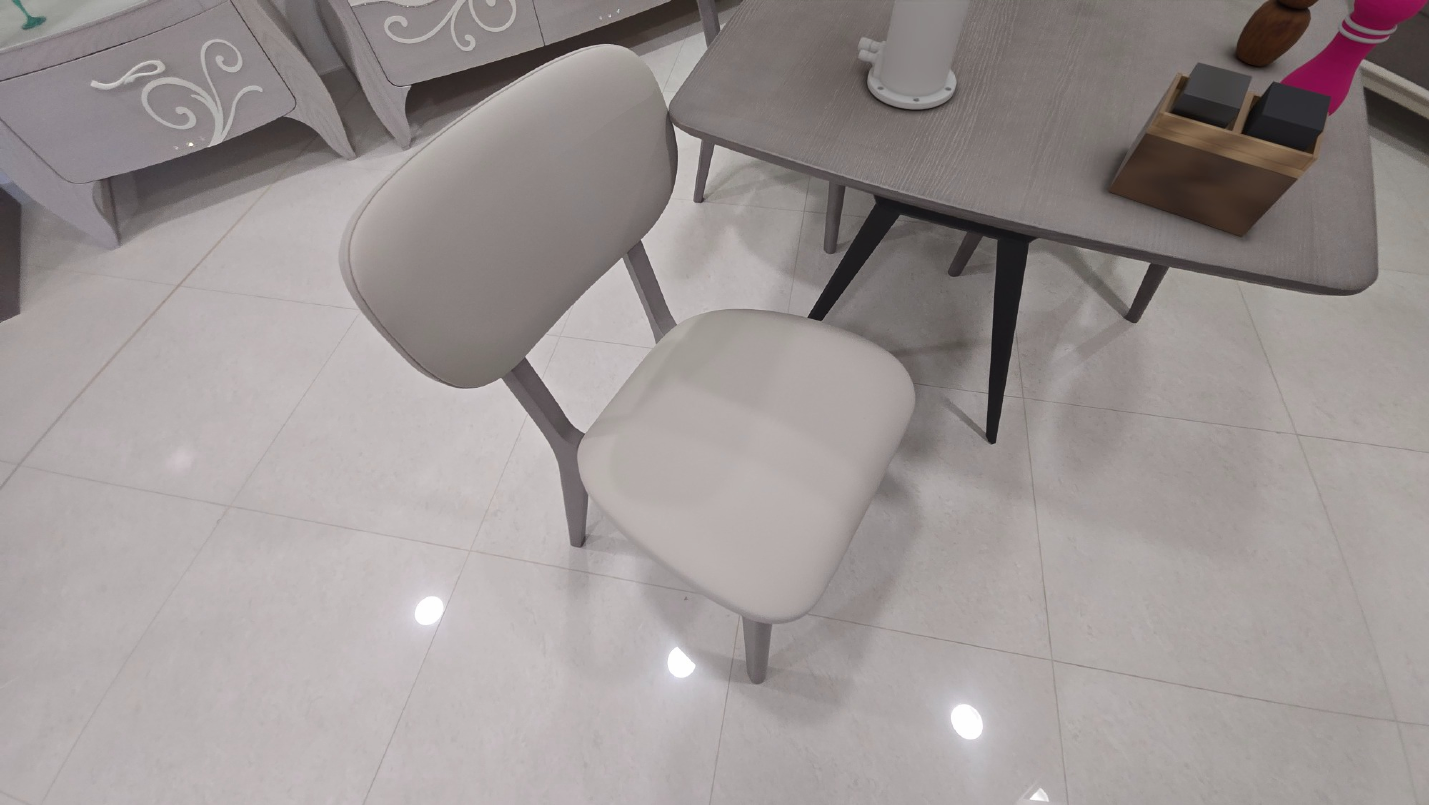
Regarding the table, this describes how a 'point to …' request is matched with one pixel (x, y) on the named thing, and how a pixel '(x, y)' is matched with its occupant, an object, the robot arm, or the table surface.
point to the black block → (1288, 116)
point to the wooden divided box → (1209, 154)
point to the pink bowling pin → (1351, 47)
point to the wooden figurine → (1273, 30)
